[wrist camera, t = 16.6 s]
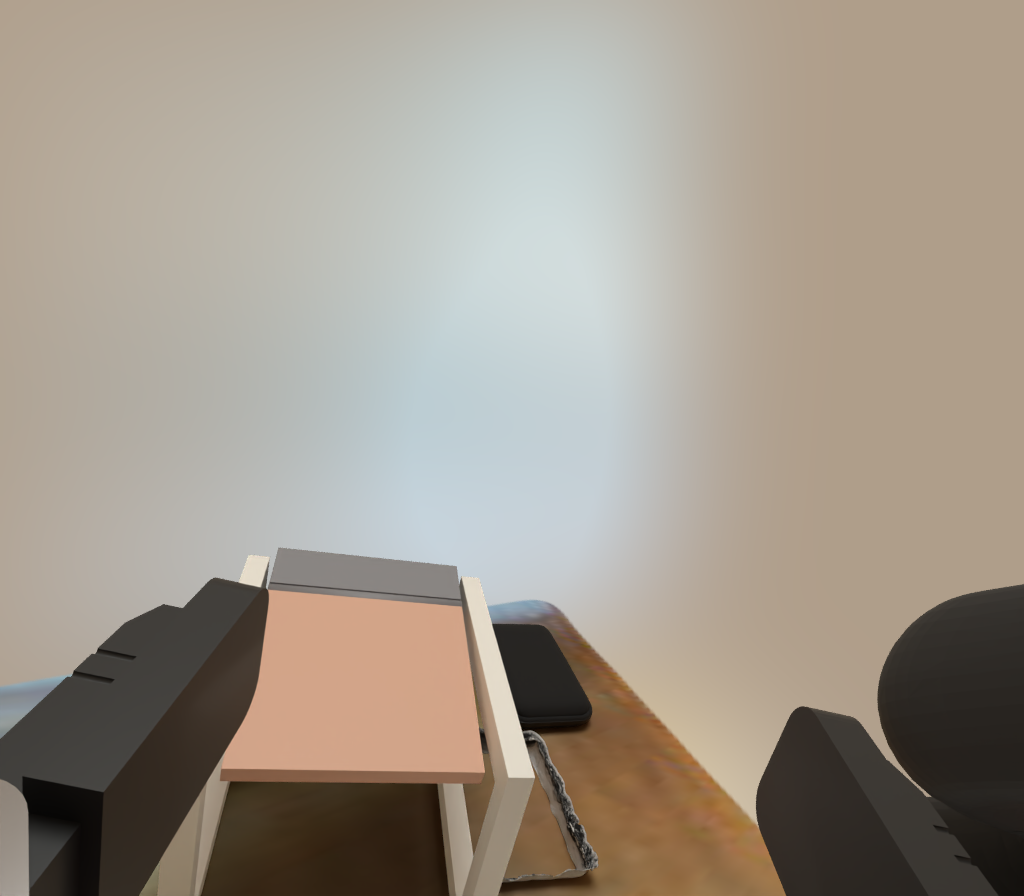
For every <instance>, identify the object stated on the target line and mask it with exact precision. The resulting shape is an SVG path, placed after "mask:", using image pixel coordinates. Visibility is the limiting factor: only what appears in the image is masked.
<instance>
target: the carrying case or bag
mask: <svg viewBox="0 0 1024 896" xmlns="http://www.w3.org/2000/svg"><path fill="white" fill-rule="evenodd" d="M492 626H493V630H494V633H495V637H496V640H497V644H498V648H499V651H500V655H501V658H502V662H503V665H504V669H505V673H506V676H507V680H508V683H509V687H510V690H511V694H512V698H513V701H514V705H515V708H516V712H517V715H518V719H519V722H520V726H521V729H526V728H546V727H566V726H577V725H582V724H585V723H586V722H587V721H589V719H590V718H591V715H592V706H591V704H590V702H589V700H588V698H587V696H586V694H585V692H584V691H583V689H582V687H581V685H580V683H579V682H578V680H577V678H576V676H575V674H574V673H573V671H572V669H571V667H570V666H569V664H568V662H567V660H566V659H565V657H564V655H563V653H562V652H561V650H560V648H559V647H558V645H557V643H556V641H555V640H554V638H553V636H552V635H551V633H550V632H549V631H548V629H546V628H545V627H544V626H541V625H530V624H492Z"/></svg>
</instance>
